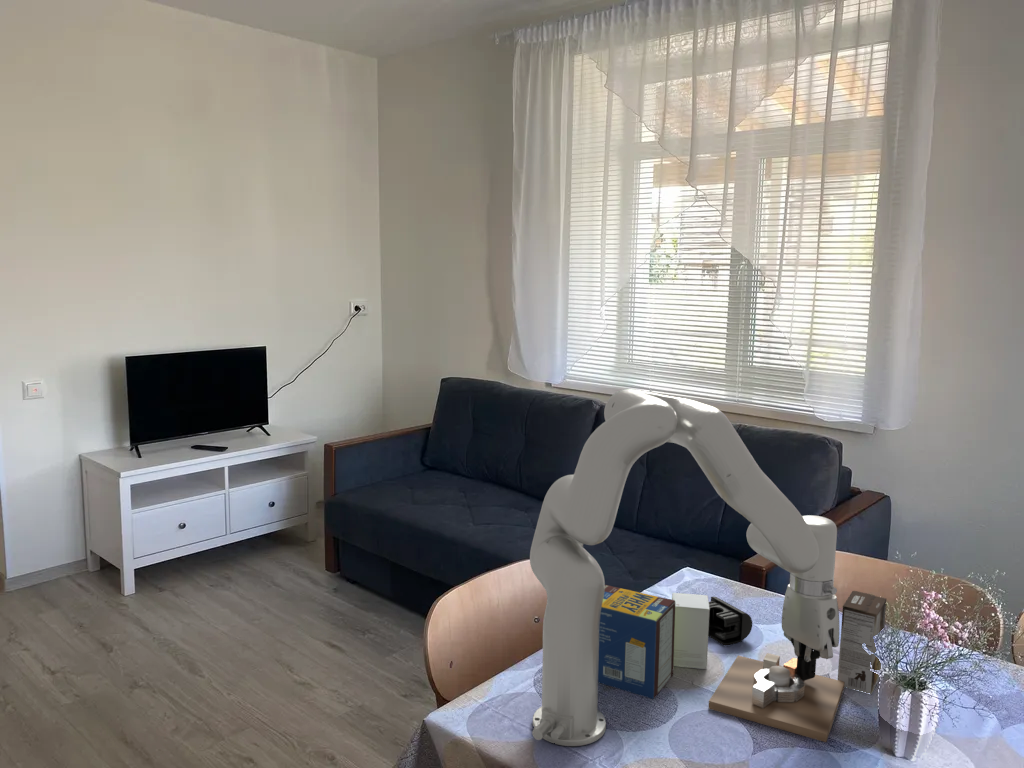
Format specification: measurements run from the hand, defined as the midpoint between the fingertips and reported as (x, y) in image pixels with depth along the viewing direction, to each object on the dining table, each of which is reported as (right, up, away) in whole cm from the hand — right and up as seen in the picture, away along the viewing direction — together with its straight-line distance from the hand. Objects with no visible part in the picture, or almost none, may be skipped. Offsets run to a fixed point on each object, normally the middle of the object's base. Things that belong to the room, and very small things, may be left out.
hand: (805, 677), depth 149 cm
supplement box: (-19, -1, +12) cm, 23 cm away
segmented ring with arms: (-6, -2, -2) cm, 7 cm away
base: (-6, -3, -2) cm, 7 cm away
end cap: (-9, 0, +24) cm, 25 cm away
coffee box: (+12, -3, +5) cm, 13 cm away
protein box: (-33, -2, +5) cm, 33 cm away
